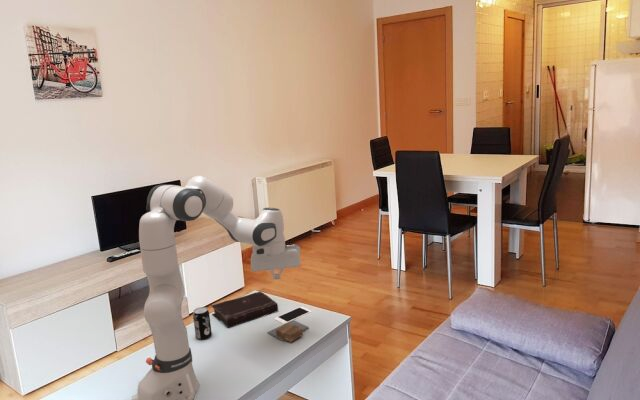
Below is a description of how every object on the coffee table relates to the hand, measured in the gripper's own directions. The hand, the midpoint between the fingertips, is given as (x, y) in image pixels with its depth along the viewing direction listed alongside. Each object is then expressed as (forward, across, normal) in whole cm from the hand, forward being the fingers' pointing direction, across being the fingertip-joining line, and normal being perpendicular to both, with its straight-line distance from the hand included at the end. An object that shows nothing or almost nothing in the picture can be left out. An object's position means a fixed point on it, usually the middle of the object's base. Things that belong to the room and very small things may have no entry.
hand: (276, 278), depth 210 cm
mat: (+23, -3, +2) cm, 23 cm away
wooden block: (+21, -6, +10) cm, 24 cm away
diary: (+24, +14, -22) cm, 36 cm away
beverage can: (+24, +32, -4) cm, 40 cm away
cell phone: (+24, -7, -13) cm, 28 cm away
